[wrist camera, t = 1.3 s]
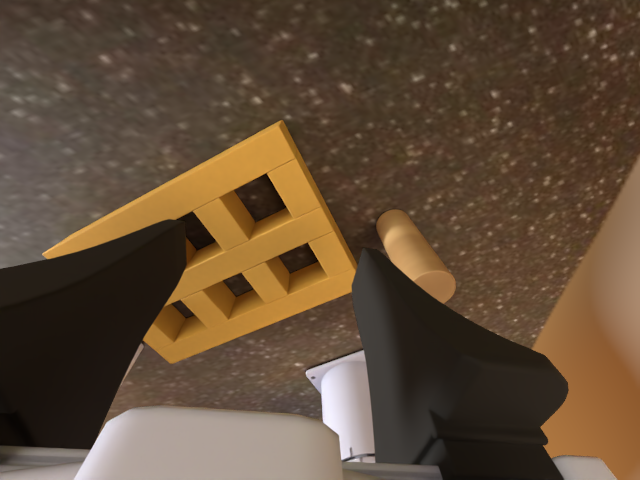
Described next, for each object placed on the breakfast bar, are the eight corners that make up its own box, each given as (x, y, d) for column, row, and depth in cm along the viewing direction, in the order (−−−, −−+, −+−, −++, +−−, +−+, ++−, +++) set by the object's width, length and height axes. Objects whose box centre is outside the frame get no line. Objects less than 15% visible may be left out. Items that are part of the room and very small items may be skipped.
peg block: (358, 266, 24) (363, 287, 22) (183, 339, 27) (171, 364, 25) (282, 119, 18) (278, 125, 16) (71, 234, 22) (41, 254, 19)
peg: (413, 230, 23) (461, 298, 16) (382, 243, 23) (415, 314, 16) (403, 203, 21) (450, 263, 14) (371, 217, 22) (401, 282, 15)
